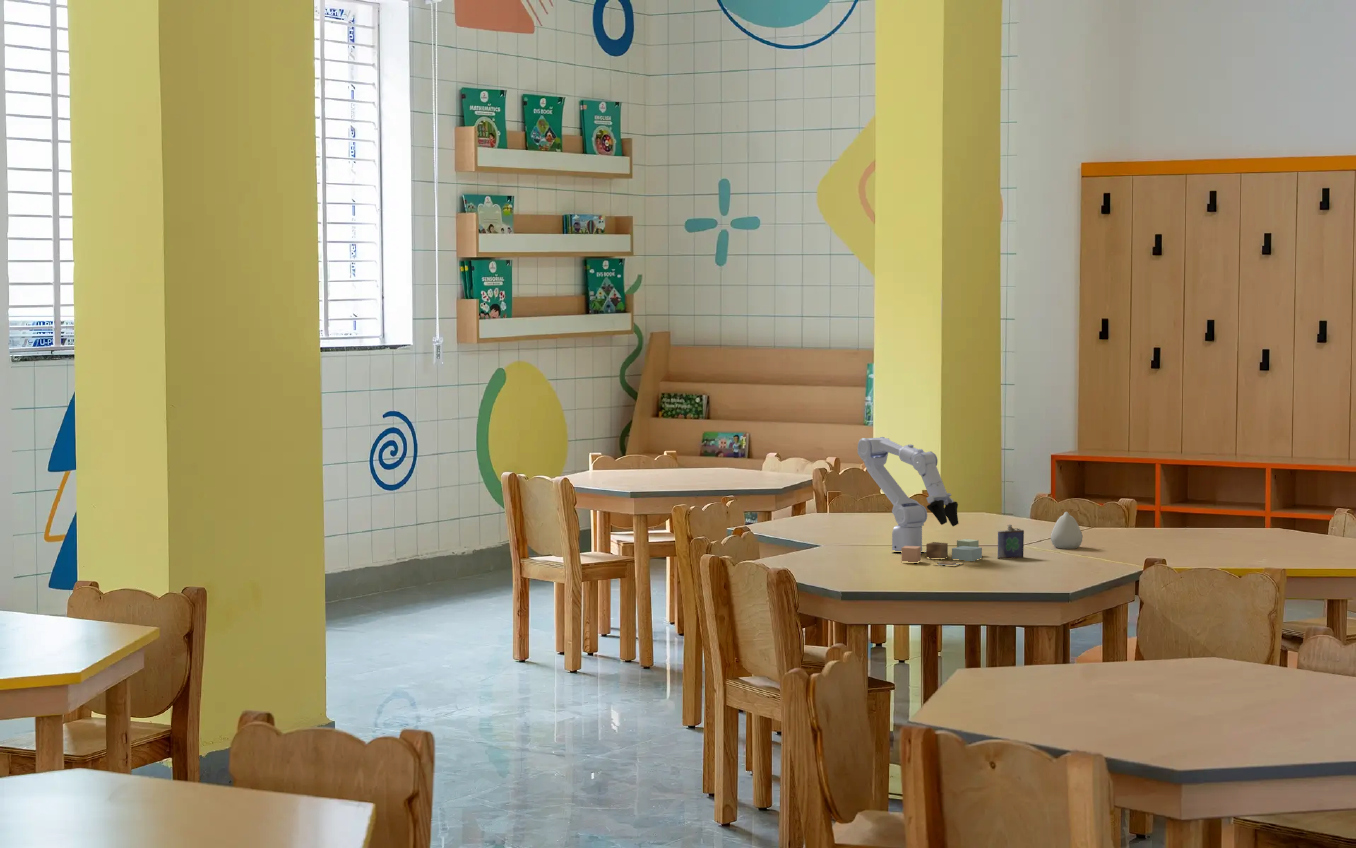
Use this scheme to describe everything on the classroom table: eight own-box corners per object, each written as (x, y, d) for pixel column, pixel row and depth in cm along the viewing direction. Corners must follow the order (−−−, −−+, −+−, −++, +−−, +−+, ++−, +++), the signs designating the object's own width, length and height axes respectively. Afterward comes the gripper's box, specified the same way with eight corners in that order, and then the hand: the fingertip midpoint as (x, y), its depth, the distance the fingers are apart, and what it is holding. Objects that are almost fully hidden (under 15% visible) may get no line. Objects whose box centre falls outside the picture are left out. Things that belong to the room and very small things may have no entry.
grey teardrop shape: (1083, 550, 482) (1084, 514, 482) (1051, 549, 484) (1051, 513, 484) (1081, 546, 492) (1081, 510, 492) (1049, 545, 495) (1050, 510, 494)
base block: (951, 560, 463) (951, 548, 463) (962, 558, 469) (962, 546, 468) (971, 562, 459) (971, 550, 459) (981, 560, 464) (981, 547, 464)
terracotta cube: (901, 563, 457) (901, 547, 457) (905, 561, 462) (905, 545, 462) (917, 564, 456) (917, 548, 455) (920, 562, 460) (920, 546, 460)
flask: (1000, 559, 464) (1000, 526, 463) (995, 558, 466) (995, 525, 466) (1025, 557, 467) (1025, 524, 466) (1020, 556, 469) (1020, 523, 469)
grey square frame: (933, 565, 453) (933, 563, 453) (943, 562, 458) (943, 560, 458) (953, 567, 448) (953, 564, 448) (963, 564, 454) (963, 562, 454)
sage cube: (956, 555, 473) (956, 540, 473) (965, 554, 477) (965, 539, 477) (969, 557, 470) (969, 541, 469) (978, 555, 473) (978, 540, 473)
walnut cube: (926, 559, 466) (926, 543, 466) (933, 557, 470) (933, 542, 470) (940, 560, 463) (940, 545, 463) (947, 558, 467) (947, 543, 467)
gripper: (933, 478, 462) (949, 517, 457) (955, 482, 473) (970, 520, 468) (916, 488, 466) (931, 526, 460) (937, 492, 477) (952, 529, 472)
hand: (949, 524), depth 465 cm, fingers open, 7 cm apart
